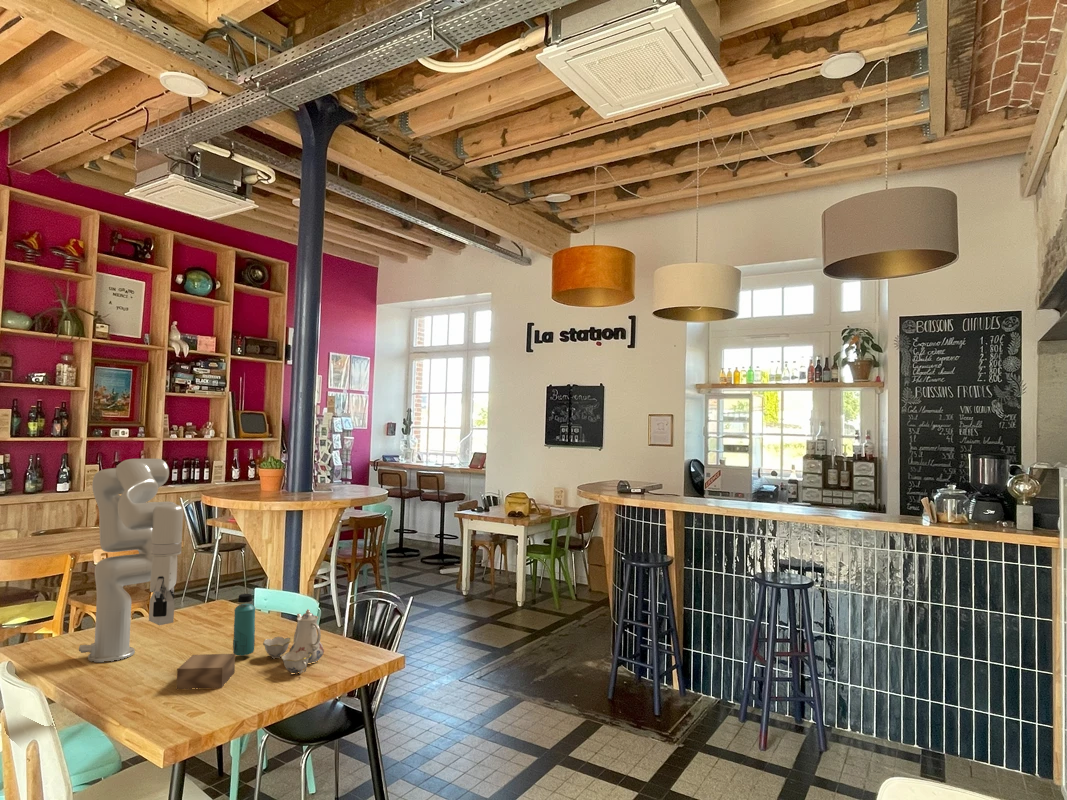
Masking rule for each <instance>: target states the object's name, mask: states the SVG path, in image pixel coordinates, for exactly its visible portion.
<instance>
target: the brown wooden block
mask: <svg viewBox="0 0 1067 800" xmlns="http://www.w3.org/2000/svg"><path fill="white" fill-rule="evenodd" d="M235 663H236V655H235V654H234V653H215V654H213V653H212V654H210V653H209V654H192V655H191V656H190V657H189V658H188V659H187V660H185V662H184V663H182V664H181V665H180V666H179V667H178V668H177V672H176V690H177V689H186V690H193V689H192V688H195V689H194V690H200V689H199V688H211V689H223V687H224V686H225V685H226V684H227V683H228V681H229V680H230V679H231V678H232V677H233V675H235V667H236V666H235V665H236V664H235ZM230 677H231V678H230ZM225 683H226V684H225ZM224 684H225V685H224ZM196 688H198V689H196Z"/></svg>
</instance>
